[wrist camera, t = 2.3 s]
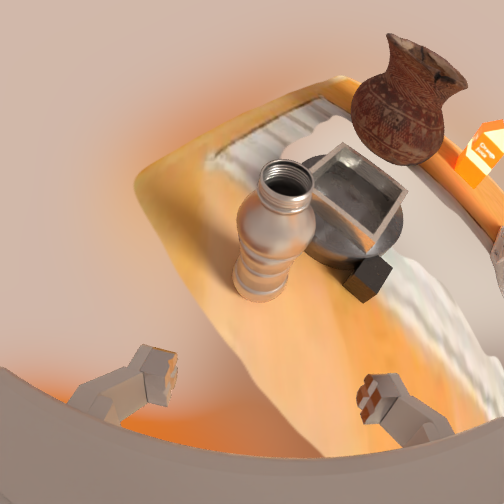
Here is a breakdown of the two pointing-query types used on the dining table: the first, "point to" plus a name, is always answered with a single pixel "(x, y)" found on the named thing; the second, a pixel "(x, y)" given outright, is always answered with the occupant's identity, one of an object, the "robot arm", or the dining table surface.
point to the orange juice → (481, 153)
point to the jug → (405, 104)
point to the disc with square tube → (354, 217)
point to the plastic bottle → (273, 229)
